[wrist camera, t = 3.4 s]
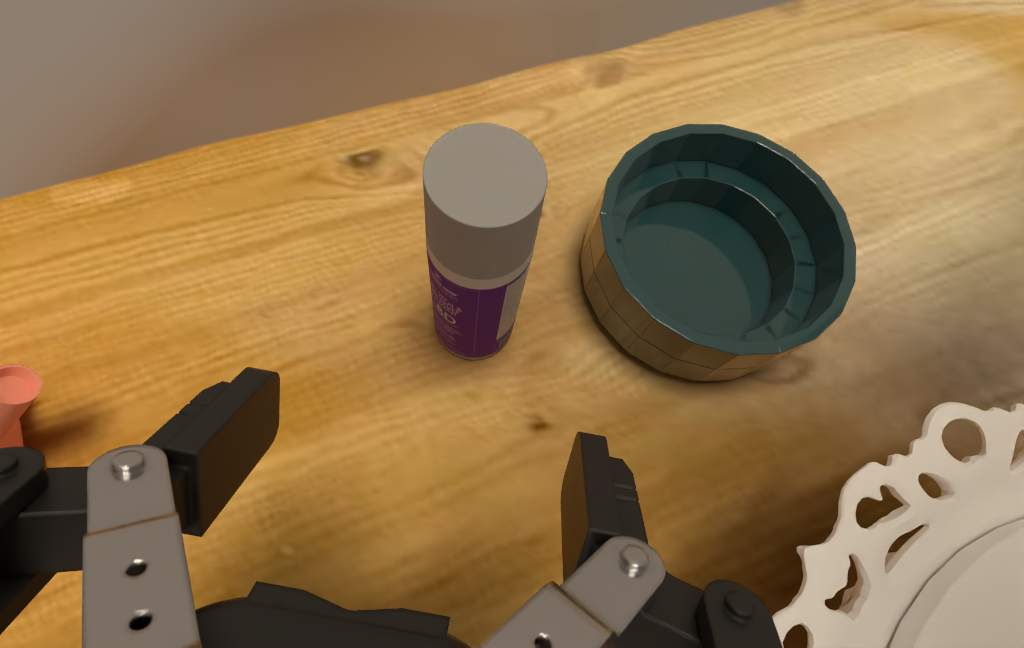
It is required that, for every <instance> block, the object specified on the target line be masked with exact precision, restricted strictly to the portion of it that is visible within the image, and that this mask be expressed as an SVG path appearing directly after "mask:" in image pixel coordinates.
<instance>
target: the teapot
mask: <svg viewBox="0 0 1024 648" xmlns="http://www.w3.org/2000/svg"><path fill="white" fill-rule="evenodd" d="M41 390H42V380H41V378H40V376H39V375H38V374H37V373H36V372H35V371H34V370H32V369H30V368H28V367H26V366H23V365H16V364H10V365H3V366H0V448H5V447H24V446H23V437H22V430H21V424H20V417H21V416H22V415H23V413H24V412H25V411H26V410H27V408H28V407H29V406H30V405H31V403H32V402H33V401H34V400H35V399H36V397H37V396H38V395H39V394H40V392H41Z"/></svg>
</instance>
